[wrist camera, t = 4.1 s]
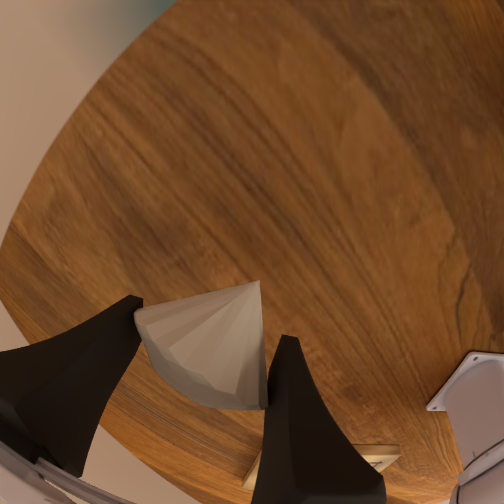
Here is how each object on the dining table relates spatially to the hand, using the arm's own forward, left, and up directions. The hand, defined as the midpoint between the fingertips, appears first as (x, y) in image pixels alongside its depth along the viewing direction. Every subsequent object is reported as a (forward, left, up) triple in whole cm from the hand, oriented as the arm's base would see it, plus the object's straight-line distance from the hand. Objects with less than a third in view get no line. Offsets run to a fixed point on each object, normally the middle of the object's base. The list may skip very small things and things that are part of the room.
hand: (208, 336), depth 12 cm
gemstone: (0, 0, -2) cm, 2 cm away
